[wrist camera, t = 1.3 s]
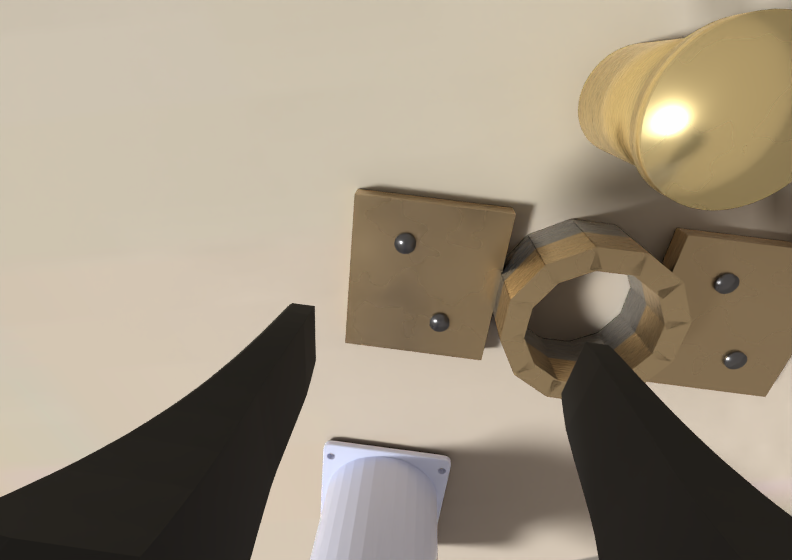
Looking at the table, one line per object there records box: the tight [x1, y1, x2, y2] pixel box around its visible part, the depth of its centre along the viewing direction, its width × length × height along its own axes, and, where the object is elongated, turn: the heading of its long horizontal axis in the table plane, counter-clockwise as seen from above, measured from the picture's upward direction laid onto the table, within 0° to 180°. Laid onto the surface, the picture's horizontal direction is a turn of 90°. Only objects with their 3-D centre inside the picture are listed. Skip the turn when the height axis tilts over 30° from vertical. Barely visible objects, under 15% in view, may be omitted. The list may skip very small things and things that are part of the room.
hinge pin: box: [578, 9, 792, 210], centre depth 15 cm, size 5×5×7 cm
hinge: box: [345, 189, 792, 399], centre depth 20 cm, size 8×22×4 cm, turn 84°
